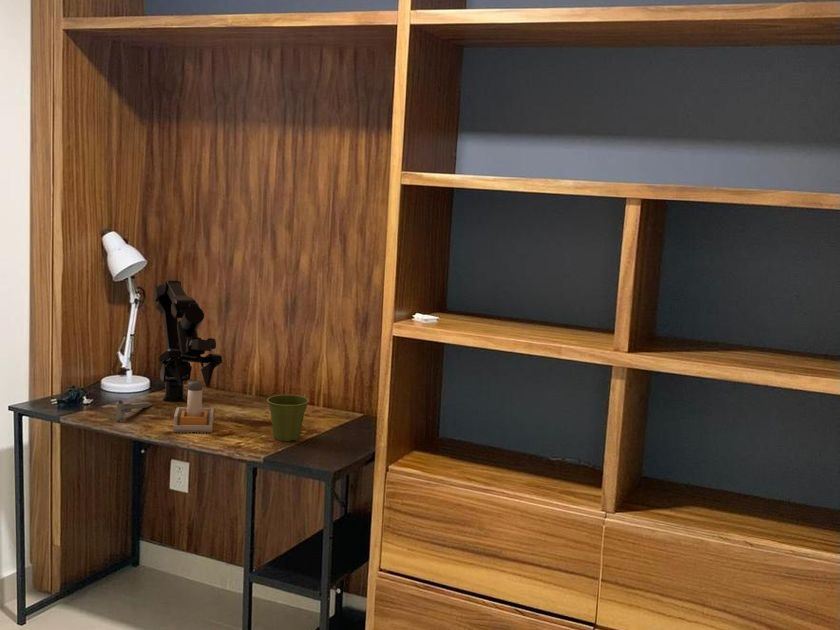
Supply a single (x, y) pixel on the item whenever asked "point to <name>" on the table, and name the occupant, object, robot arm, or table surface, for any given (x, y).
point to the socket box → (193, 421)
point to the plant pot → (287, 415)
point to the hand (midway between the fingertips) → (194, 385)
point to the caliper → (128, 408)
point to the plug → (194, 399)
